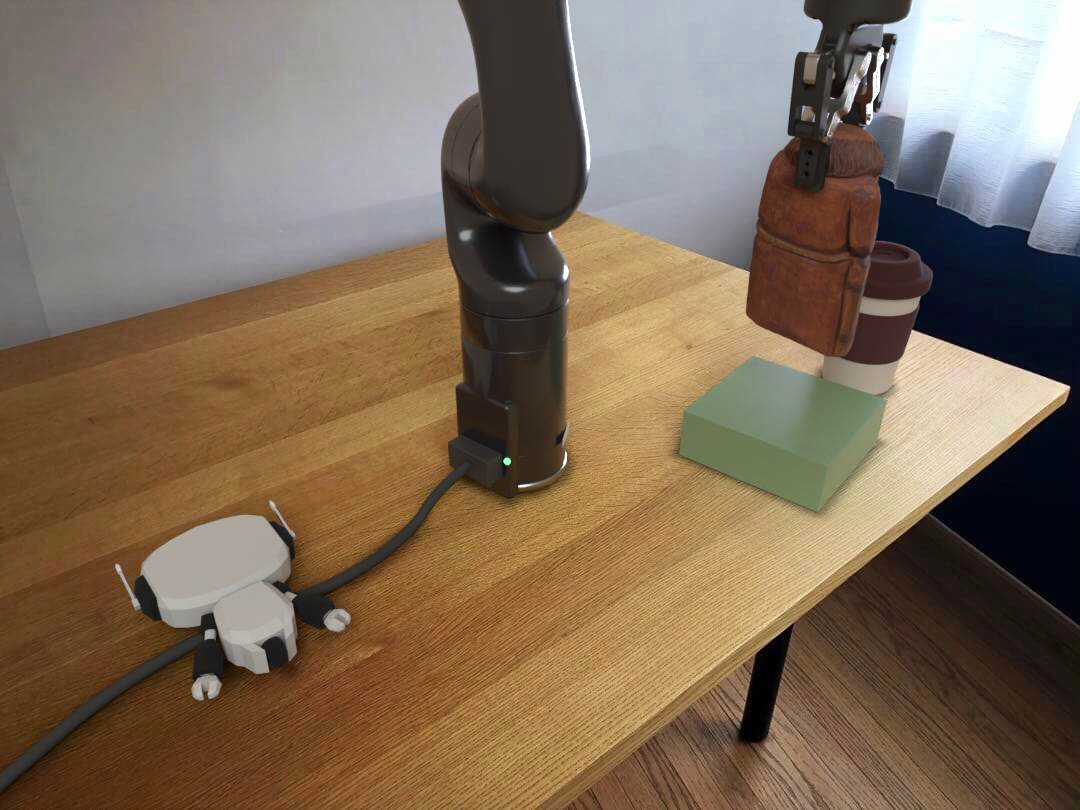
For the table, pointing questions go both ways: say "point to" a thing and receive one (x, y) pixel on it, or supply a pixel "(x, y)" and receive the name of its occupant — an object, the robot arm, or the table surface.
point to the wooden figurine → (816, 244)
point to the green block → (782, 430)
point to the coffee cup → (882, 319)
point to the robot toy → (231, 595)
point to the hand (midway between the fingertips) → (825, 179)
